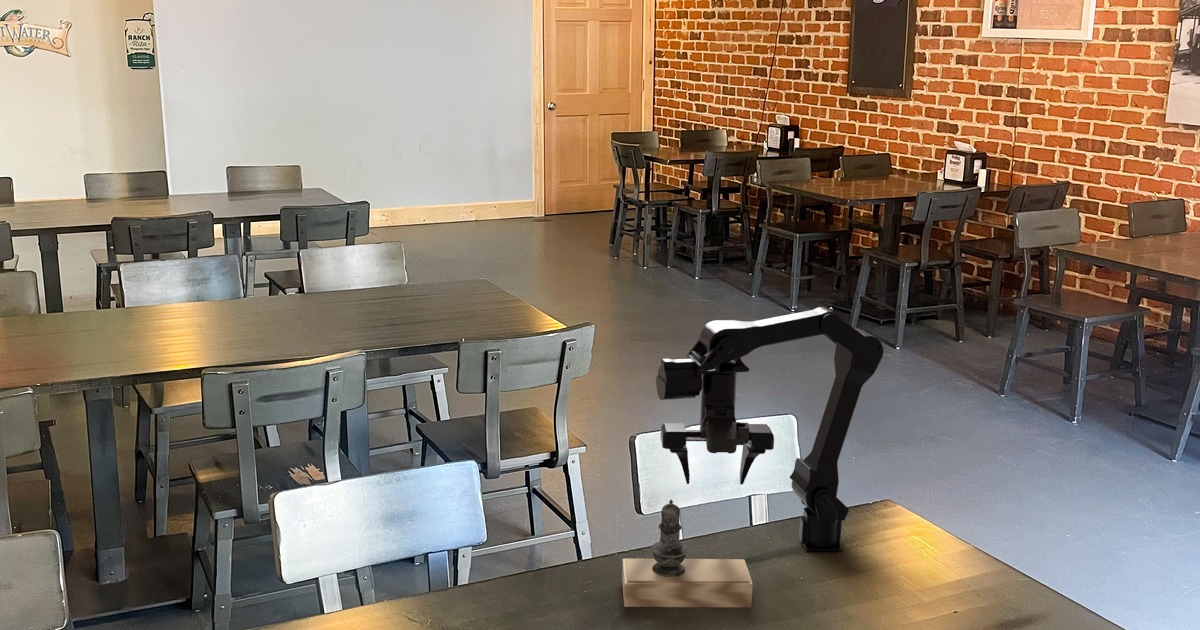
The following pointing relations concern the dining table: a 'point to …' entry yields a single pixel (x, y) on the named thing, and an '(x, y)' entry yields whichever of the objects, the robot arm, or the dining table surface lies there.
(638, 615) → the dining table surface
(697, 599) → the tan wooden block
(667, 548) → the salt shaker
